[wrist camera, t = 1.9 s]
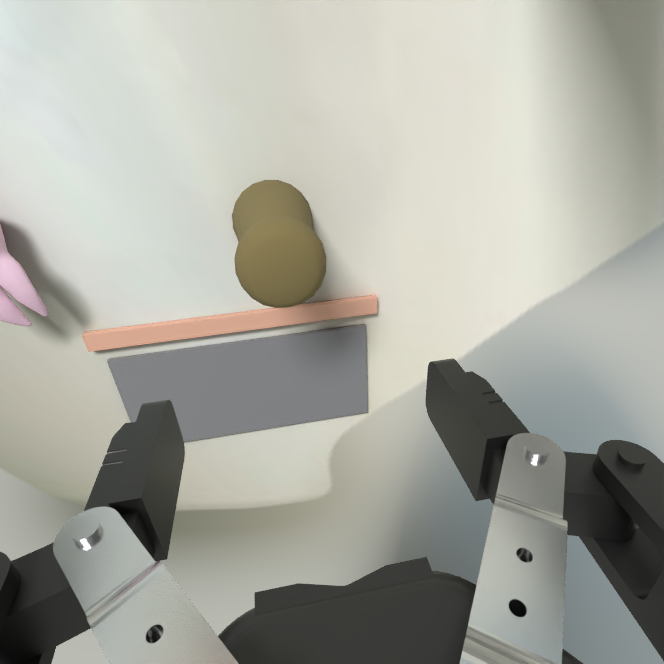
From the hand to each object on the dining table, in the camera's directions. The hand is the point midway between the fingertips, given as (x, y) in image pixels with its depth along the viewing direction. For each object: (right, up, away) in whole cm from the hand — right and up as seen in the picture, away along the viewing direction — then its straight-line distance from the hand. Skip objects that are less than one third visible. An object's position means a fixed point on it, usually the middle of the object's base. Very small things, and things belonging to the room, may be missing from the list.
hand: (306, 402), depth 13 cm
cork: (-4, +11, +19) cm, 22 cm away
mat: (-7, -3, +26) cm, 27 cm away
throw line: (-7, +3, +22) cm, 24 cm away
